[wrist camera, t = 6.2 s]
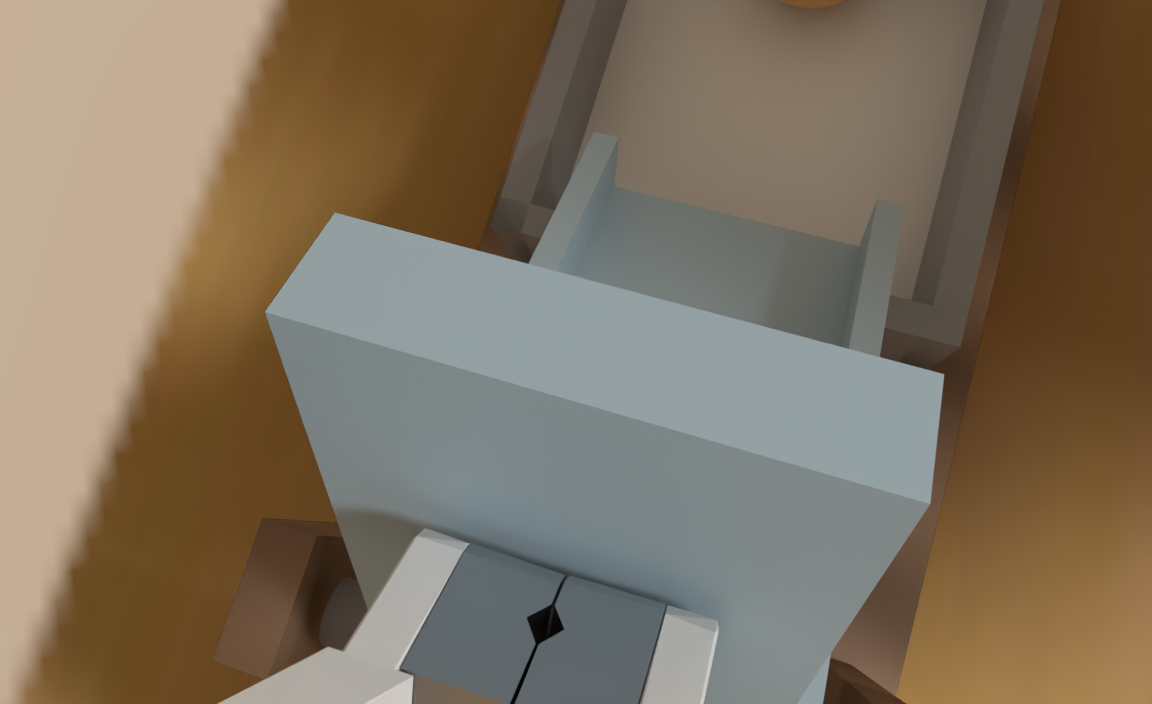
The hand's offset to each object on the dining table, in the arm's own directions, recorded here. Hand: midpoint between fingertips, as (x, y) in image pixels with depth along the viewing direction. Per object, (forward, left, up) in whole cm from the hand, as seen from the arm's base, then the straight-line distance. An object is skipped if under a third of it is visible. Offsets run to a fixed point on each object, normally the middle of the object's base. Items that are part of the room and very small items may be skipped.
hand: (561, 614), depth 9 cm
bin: (-6, -13, -16) cm, 21 cm away
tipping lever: (+1, +2, -13) cm, 13 cm away
